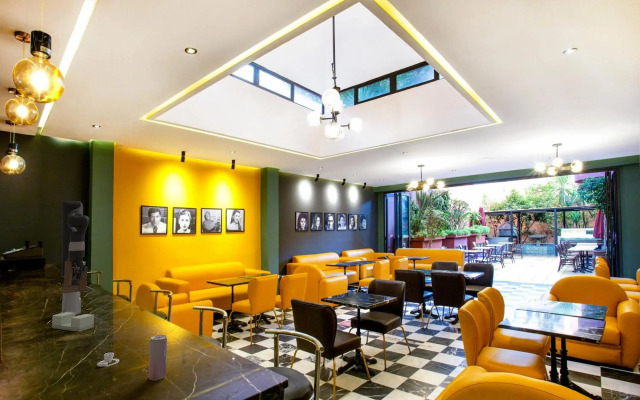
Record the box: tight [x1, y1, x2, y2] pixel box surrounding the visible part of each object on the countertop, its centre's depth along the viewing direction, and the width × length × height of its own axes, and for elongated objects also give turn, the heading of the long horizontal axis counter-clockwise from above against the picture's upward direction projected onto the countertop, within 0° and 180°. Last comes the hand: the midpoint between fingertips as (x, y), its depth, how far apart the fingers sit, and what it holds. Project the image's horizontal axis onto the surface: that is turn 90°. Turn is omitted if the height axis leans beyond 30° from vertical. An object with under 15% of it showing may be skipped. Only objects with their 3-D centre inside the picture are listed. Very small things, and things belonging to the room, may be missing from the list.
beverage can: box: [148, 334, 168, 382], centre depth 127 cm, size 6×6×15 cm
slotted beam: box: [51, 312, 95, 332], centre depth 191 cm, size 8×22×7 cm, turn 71°
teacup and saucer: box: [96, 351, 120, 368], centre depth 141 cm, size 9×8×4 cm
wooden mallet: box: [62, 260, 88, 294], centre depth 193 cm, size 4×11×18 cm, turn 140°
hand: (75, 279), depth 193 cm, fingers closed on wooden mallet, 4 cm apart
